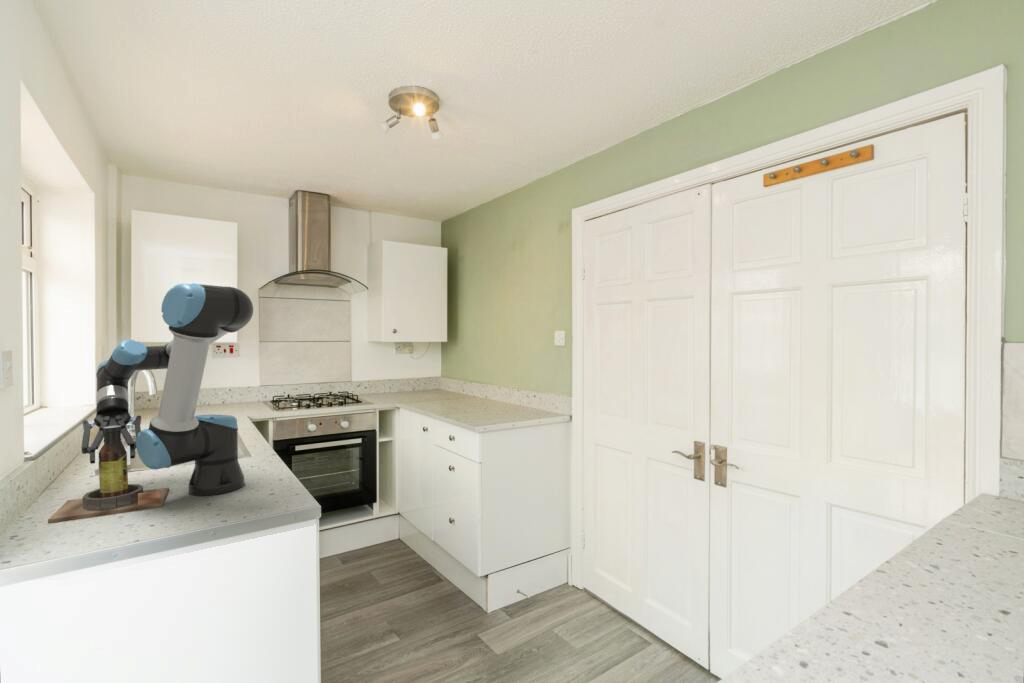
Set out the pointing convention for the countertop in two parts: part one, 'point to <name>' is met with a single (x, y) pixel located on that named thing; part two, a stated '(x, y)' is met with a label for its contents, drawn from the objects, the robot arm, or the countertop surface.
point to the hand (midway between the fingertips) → (113, 469)
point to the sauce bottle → (113, 464)
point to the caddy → (110, 503)
